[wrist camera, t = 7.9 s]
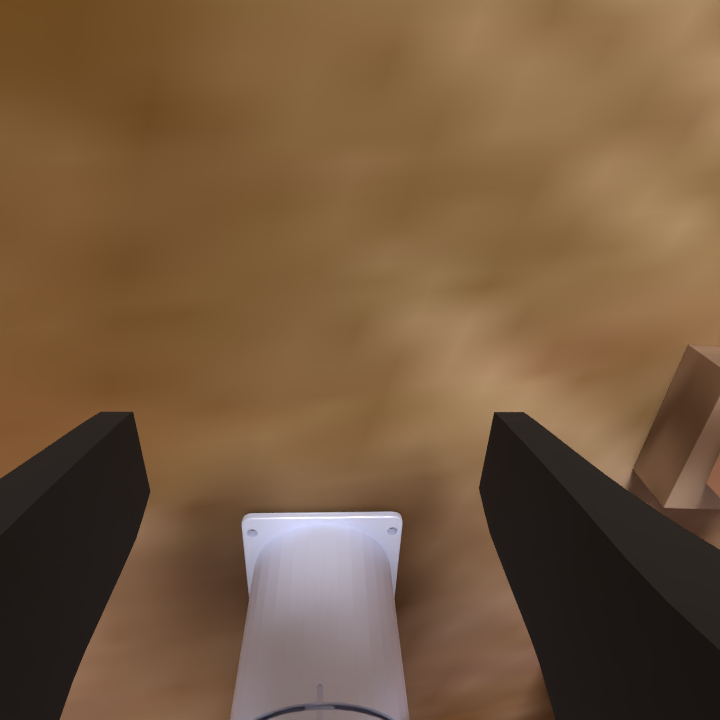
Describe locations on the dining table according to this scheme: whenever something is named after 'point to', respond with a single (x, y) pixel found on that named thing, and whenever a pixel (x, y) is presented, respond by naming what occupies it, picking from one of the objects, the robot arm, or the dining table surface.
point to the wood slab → (685, 435)
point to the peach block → (715, 477)
